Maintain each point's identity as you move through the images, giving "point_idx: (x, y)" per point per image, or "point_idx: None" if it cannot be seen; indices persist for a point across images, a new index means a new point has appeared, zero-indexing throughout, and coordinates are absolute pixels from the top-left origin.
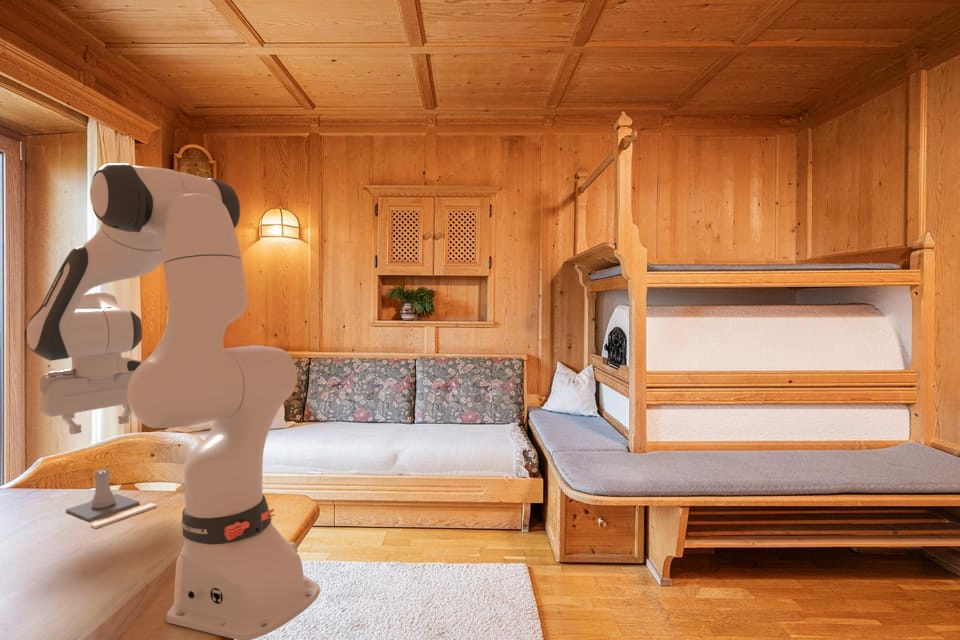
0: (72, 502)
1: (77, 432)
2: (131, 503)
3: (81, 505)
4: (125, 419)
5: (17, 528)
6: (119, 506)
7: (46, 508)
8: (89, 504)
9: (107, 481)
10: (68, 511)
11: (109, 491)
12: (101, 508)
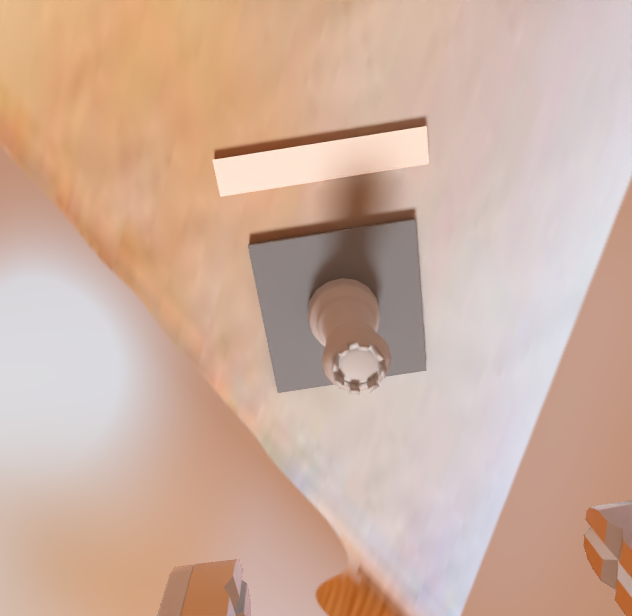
0: (382, 434)
1: (629, 502)
2: (273, 249)
3: None
4: (198, 597)
5: (548, 339)
6: (311, 253)
7: (444, 440)
8: None
9: (342, 323)
10: (424, 351)
11: (331, 311)
12: None
